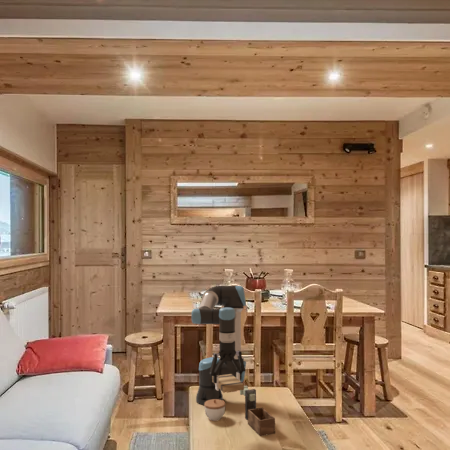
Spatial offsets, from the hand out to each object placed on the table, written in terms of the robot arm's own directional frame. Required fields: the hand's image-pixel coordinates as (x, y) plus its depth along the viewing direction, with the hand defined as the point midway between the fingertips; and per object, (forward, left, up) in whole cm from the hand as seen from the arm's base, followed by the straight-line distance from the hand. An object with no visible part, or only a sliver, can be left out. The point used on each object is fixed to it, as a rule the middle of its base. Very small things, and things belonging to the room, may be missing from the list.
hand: (227, 388), depth 207 cm
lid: (0, 0, +1) cm, 1 cm away
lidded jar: (-19, 0, -22) cm, 29 cm away
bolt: (-15, +17, -12) cm, 26 cm away
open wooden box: (+1, +17, -21) cm, 27 cm away
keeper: (-12, +17, -21) cm, 30 cm away
